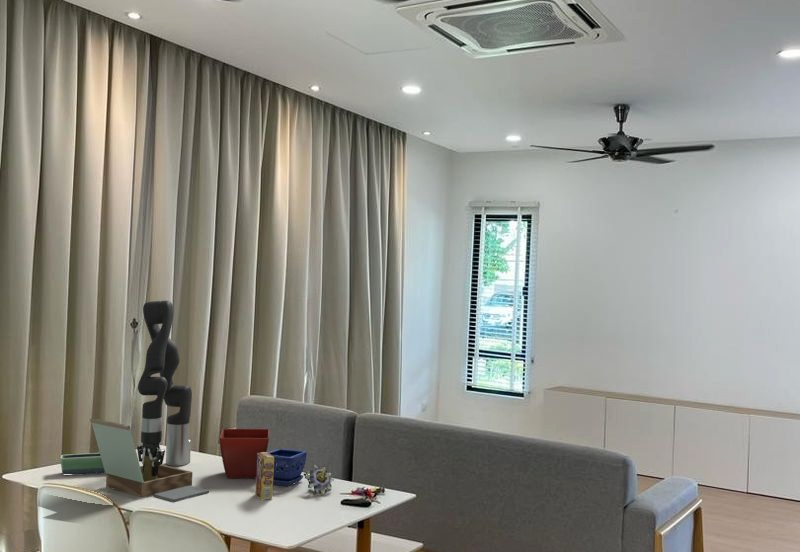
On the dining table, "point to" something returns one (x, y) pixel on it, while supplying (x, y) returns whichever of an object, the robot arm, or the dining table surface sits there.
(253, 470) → the plant pot
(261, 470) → the candy box
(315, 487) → the passion flower
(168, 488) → the cold frame
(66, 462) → the planter
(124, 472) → the lid
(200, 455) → the dining table surface
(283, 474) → the flower pot
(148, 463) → the cork
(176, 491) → the mat
